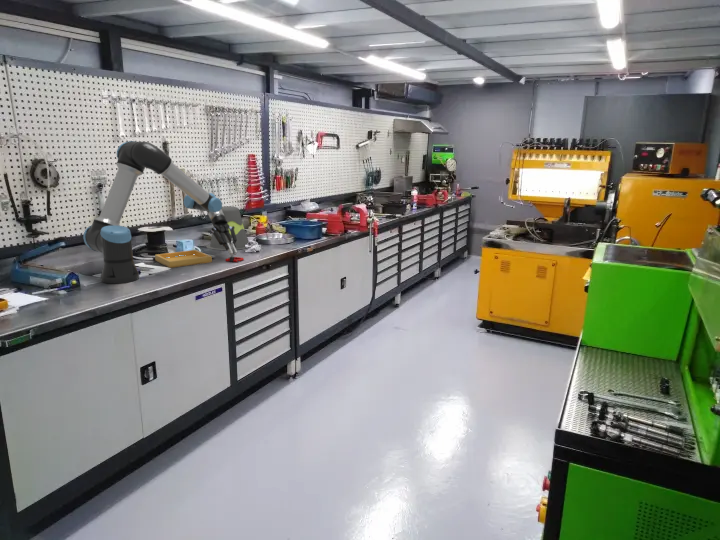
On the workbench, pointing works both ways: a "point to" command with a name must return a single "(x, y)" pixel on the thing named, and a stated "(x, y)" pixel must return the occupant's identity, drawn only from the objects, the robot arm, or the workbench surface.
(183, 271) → the workbench surface
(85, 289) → the workbench surface
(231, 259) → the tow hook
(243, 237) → the gray green truncated cone
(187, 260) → the parts tray
